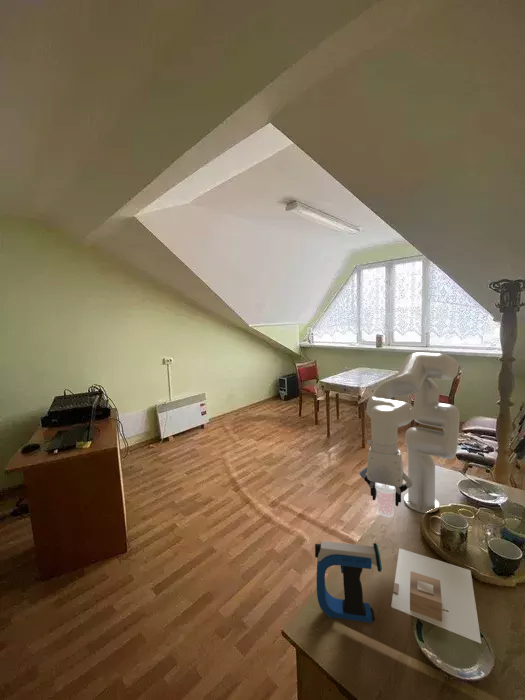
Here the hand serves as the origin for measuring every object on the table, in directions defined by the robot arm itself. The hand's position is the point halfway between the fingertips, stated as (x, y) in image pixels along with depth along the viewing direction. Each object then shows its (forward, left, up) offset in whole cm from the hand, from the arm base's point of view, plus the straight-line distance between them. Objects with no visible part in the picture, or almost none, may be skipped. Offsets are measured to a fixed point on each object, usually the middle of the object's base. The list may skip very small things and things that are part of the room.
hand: (385, 500), depth 92 cm
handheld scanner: (+24, -6, -19) cm, 32 cm away
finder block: (+13, +11, -18) cm, 25 cm away
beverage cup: (0, 0, -4) cm, 4 cm away
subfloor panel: (+7, +13, -19) cm, 24 cm away
